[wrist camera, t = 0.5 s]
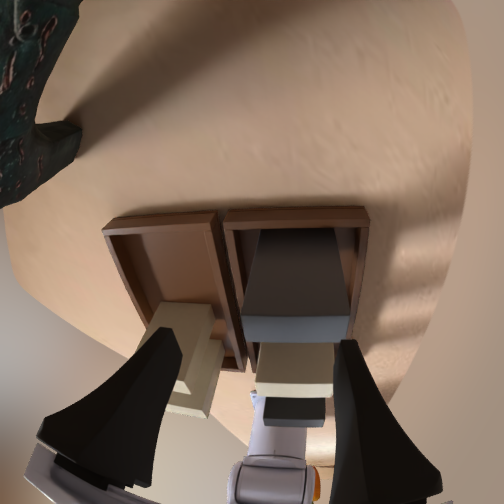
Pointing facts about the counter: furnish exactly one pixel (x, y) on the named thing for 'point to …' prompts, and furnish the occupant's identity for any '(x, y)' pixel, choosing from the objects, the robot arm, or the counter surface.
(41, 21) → the green mottled arch
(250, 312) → the charcoal book
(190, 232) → the shallow brown tray
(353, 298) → the dark wooden tray
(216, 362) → the cream book
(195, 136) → the counter surface
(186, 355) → the cream book
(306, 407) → the charcoal book
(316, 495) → the carrot
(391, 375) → the counter surface
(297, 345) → the cream book
